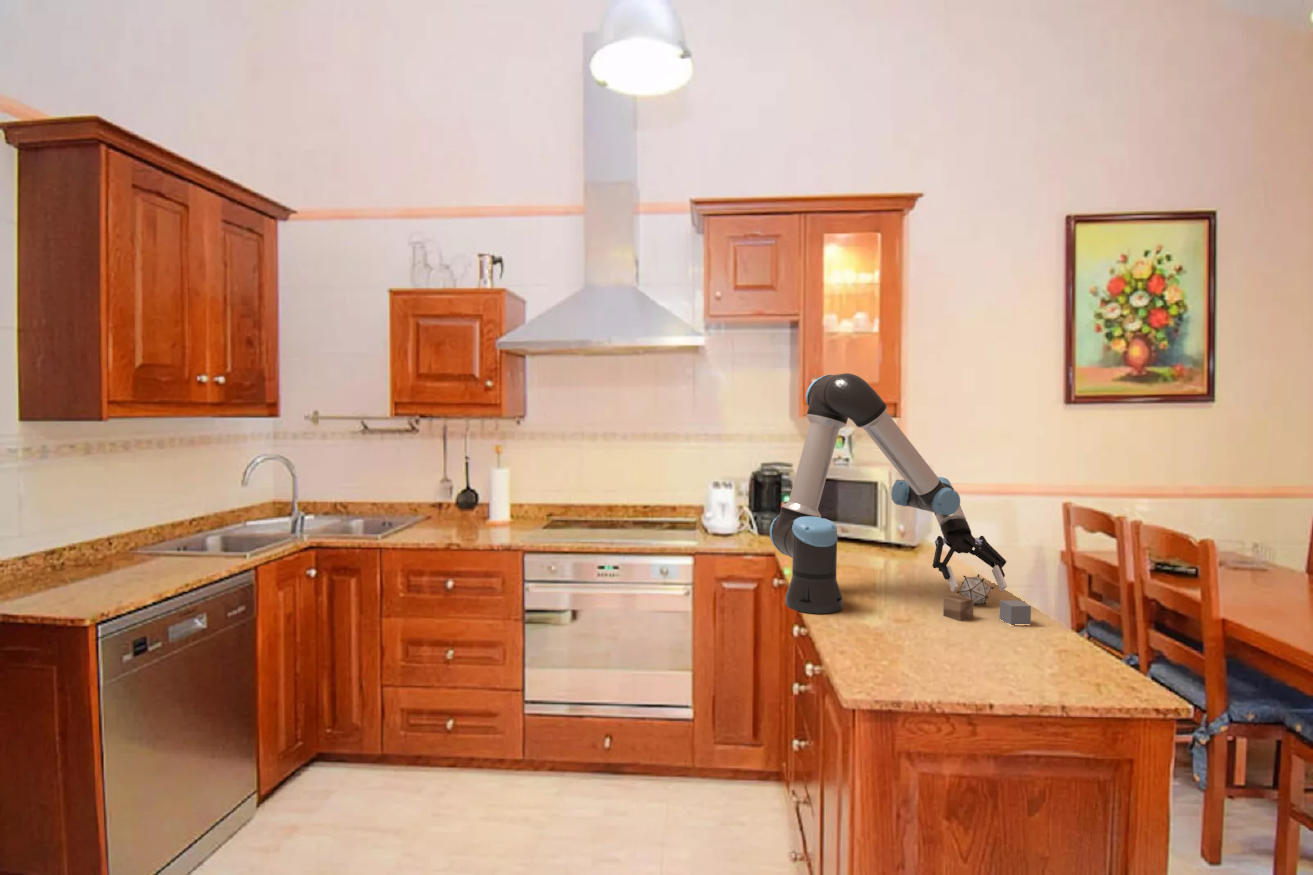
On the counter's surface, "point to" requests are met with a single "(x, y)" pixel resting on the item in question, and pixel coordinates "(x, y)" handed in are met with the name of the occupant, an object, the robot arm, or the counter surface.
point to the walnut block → (958, 607)
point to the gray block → (1015, 612)
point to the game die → (975, 589)
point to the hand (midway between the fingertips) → (979, 589)
